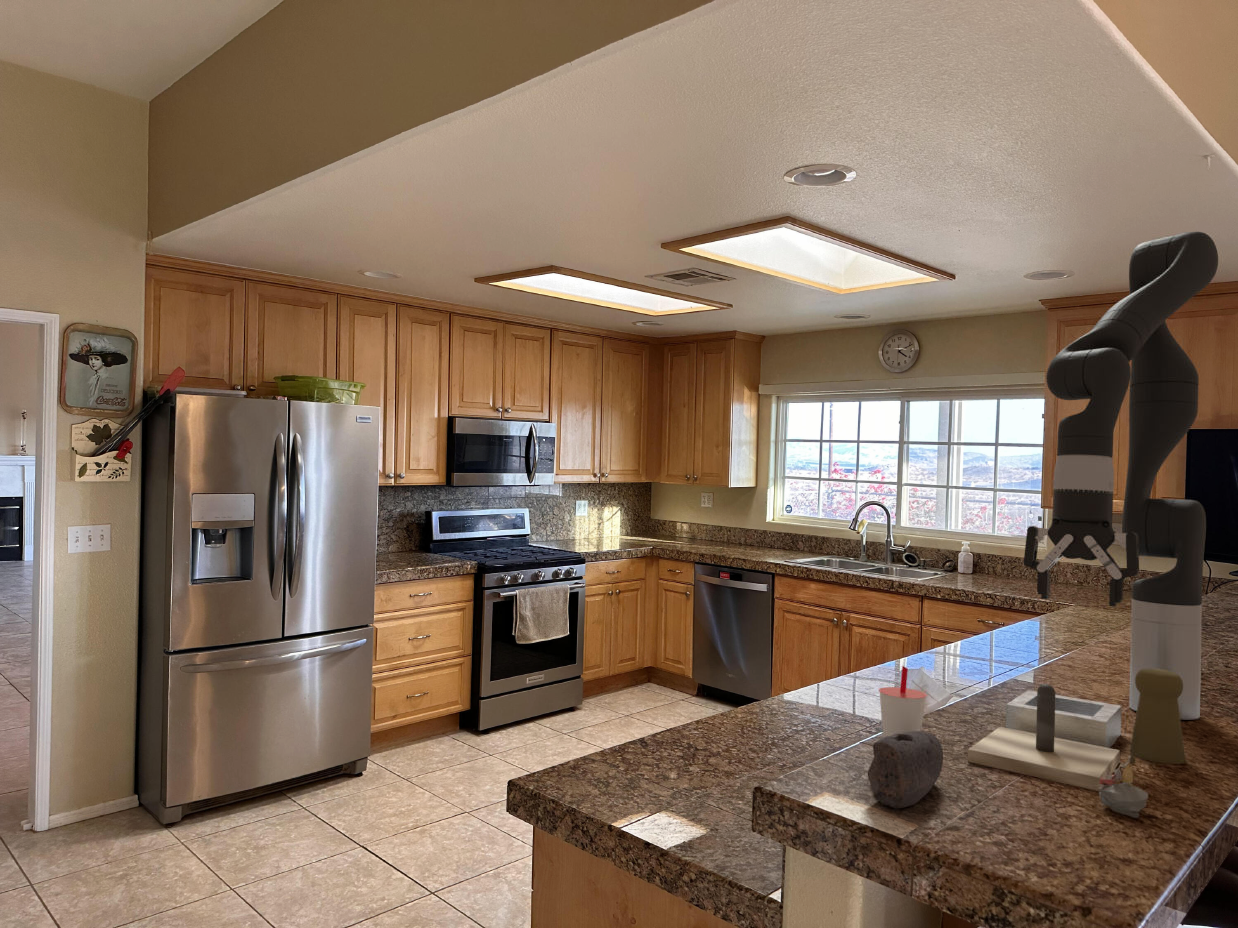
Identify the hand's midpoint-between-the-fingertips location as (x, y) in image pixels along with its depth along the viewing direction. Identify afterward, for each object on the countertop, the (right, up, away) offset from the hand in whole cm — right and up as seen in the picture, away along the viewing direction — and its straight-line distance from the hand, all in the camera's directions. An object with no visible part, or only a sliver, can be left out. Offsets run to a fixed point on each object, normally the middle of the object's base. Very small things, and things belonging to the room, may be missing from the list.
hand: (1078, 602), depth 120 cm
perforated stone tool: (-34, -16, -30) cm, 48 cm away
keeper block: (-13, -17, -16) cm, 27 cm away
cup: (-32, -16, -21) cm, 42 cm away
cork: (+4, -18, -12) cm, 22 cm away
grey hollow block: (-4, -18, -3) cm, 18 cm away
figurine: (-13, -17, -32) cm, 38 cm away
